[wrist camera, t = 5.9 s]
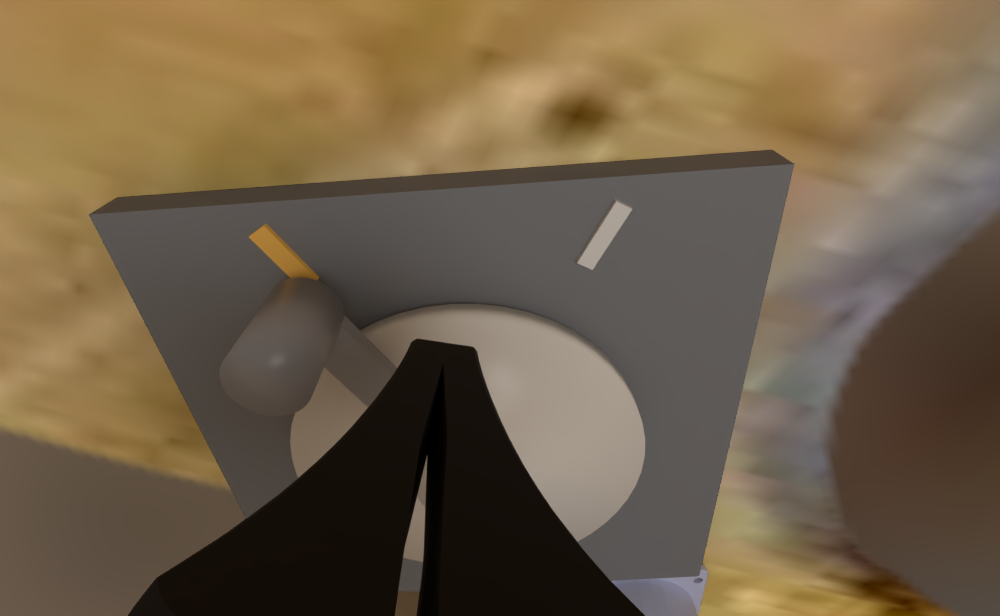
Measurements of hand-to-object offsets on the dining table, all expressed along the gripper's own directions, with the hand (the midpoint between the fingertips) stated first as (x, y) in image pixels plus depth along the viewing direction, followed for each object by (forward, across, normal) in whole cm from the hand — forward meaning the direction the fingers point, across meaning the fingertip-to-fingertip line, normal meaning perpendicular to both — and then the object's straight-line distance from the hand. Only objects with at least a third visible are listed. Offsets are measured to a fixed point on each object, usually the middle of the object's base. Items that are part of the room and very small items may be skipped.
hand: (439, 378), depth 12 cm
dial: (+7, -1, +8) cm, 10 cm away
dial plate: (+8, -2, +9) cm, 12 cm away
